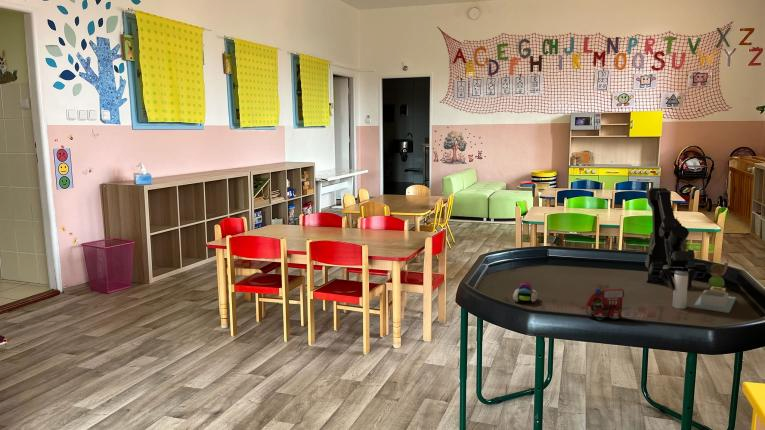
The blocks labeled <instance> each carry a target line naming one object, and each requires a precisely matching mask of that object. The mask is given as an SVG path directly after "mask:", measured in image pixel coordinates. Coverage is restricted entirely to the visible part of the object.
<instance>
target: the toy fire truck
mask: <svg viewBox="0 0 765 430" xmlns="http://www.w3.org/2000/svg"><path fill="white" fill-rule="evenodd" d="M624 297H625V291H624V289H622V288H603V289H601V288H596V289H595V290H594V292H593V293H591V294H590V296H589V298H588V300H587V301H586V303H585V313H586V314H587V315H589V314H593V315H599V316H607V314H608V317H609V316H611V317H620V318H621V317H622V312H623V299H624ZM593 315H592V316H593Z"/></svg>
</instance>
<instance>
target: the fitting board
mask: <svg viewBox="0 0 765 430" xmlns="http://www.w3.org/2000/svg"><path fill="white" fill-rule="evenodd" d="M736 299H737V298H736V296H730V295H729V292H727V290H726V287H722V288H720V287H710V288H709V289H704V290H703V291H702V293H701V294H700V295H699V297H698V298H697V300H696V301H695V303H694V304H693V308H696V309H701V310H707V311H708V310H709V311H715V312H721V313H727V314H729V313H730V312H731V310H732V308H733V306H734V304H735V302H736Z"/></svg>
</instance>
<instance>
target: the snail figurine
mask: <svg viewBox="0 0 765 430" xmlns="http://www.w3.org/2000/svg"><path fill="white" fill-rule="evenodd" d="M729 261H730V260H729V259H726V262H724V263H723V265H724V266H723V265H722V264H720V263H713V264H712V265H711V266H710V270H709V271H711V272H710V275H711V277H710V278H709V279H708V285H709V287H710V288H711V287H720V288H724V286H725V280H724V278H723V277H722V276H724V275H725V274H726V272H727V269H728V266H729Z"/></svg>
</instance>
